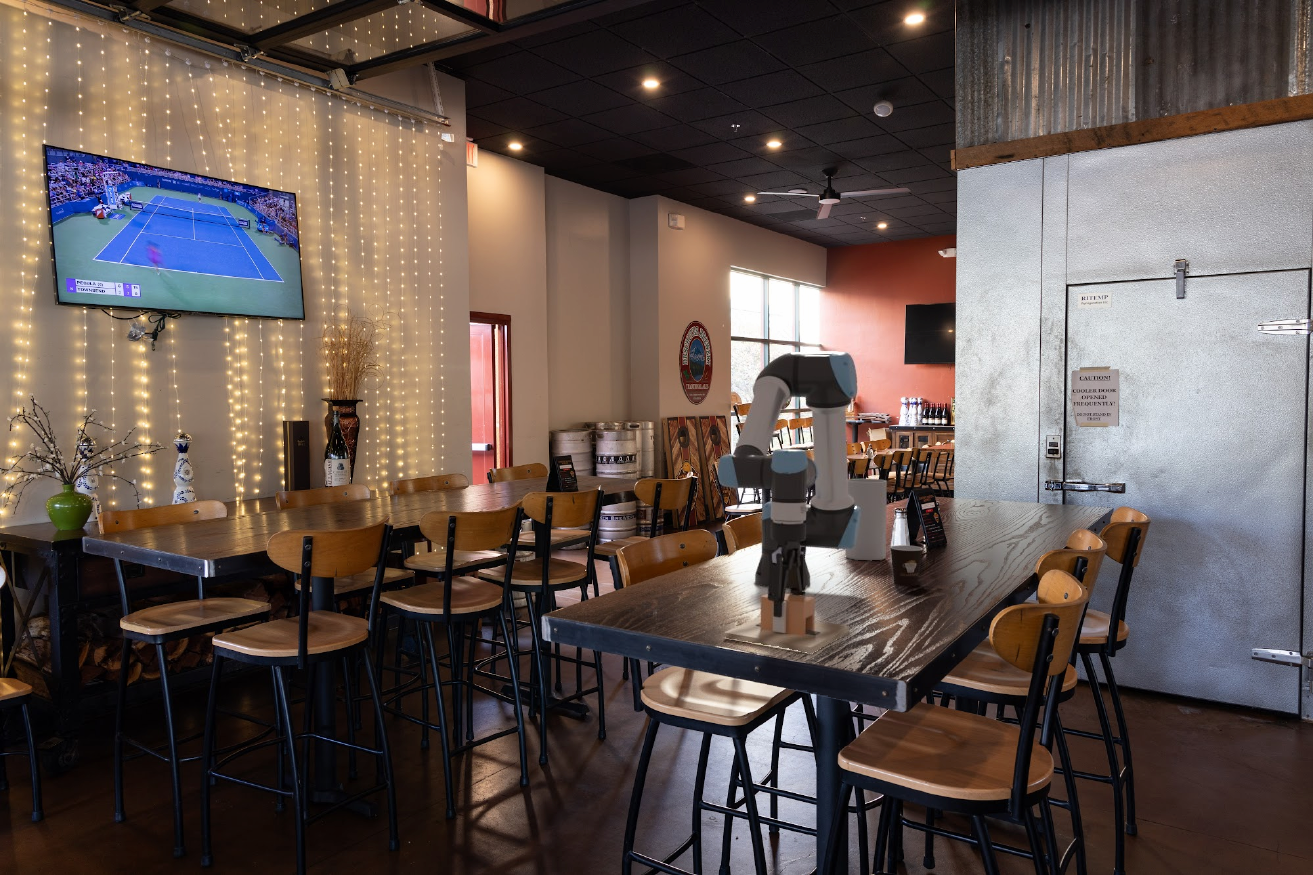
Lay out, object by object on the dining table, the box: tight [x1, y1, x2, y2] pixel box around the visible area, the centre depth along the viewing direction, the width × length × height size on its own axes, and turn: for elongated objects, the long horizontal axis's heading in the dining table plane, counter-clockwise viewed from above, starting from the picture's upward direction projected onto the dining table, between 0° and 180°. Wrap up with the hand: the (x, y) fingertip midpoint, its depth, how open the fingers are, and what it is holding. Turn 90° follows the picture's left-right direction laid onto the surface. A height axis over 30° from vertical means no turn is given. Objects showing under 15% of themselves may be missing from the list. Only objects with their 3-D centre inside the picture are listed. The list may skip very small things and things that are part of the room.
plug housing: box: [760, 593, 816, 636], centre depth 189 cm, size 10×6×7 cm, turn 56°
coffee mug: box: [889, 544, 936, 587], centre depth 243 cm, size 12×9×10 cm
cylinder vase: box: [844, 478, 888, 562], centre depth 282 cm, size 12×12×25 cm
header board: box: [723, 615, 850, 655], centre depth 189 cm, size 20×20×4 cm
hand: (786, 628), depth 189 cm, fingers open, 6 cm apart
